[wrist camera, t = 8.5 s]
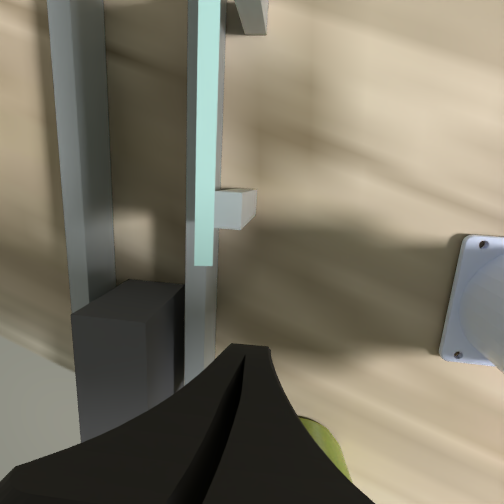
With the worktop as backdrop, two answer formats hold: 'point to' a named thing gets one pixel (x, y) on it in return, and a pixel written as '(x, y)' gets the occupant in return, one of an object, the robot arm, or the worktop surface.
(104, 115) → the grey frame
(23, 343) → the worktop surface
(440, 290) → the worktop surface
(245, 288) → the worktop surface
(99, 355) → the block
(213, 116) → the cover
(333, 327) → the worktop surface
